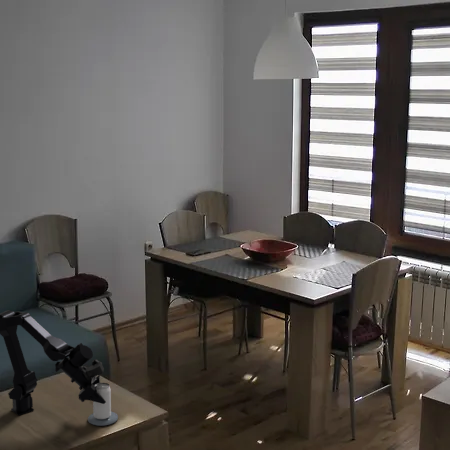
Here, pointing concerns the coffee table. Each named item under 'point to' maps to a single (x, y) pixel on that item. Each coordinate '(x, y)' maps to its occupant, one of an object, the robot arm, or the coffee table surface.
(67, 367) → the robot arm
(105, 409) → the can
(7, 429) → the coffee table surface
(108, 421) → the dish
